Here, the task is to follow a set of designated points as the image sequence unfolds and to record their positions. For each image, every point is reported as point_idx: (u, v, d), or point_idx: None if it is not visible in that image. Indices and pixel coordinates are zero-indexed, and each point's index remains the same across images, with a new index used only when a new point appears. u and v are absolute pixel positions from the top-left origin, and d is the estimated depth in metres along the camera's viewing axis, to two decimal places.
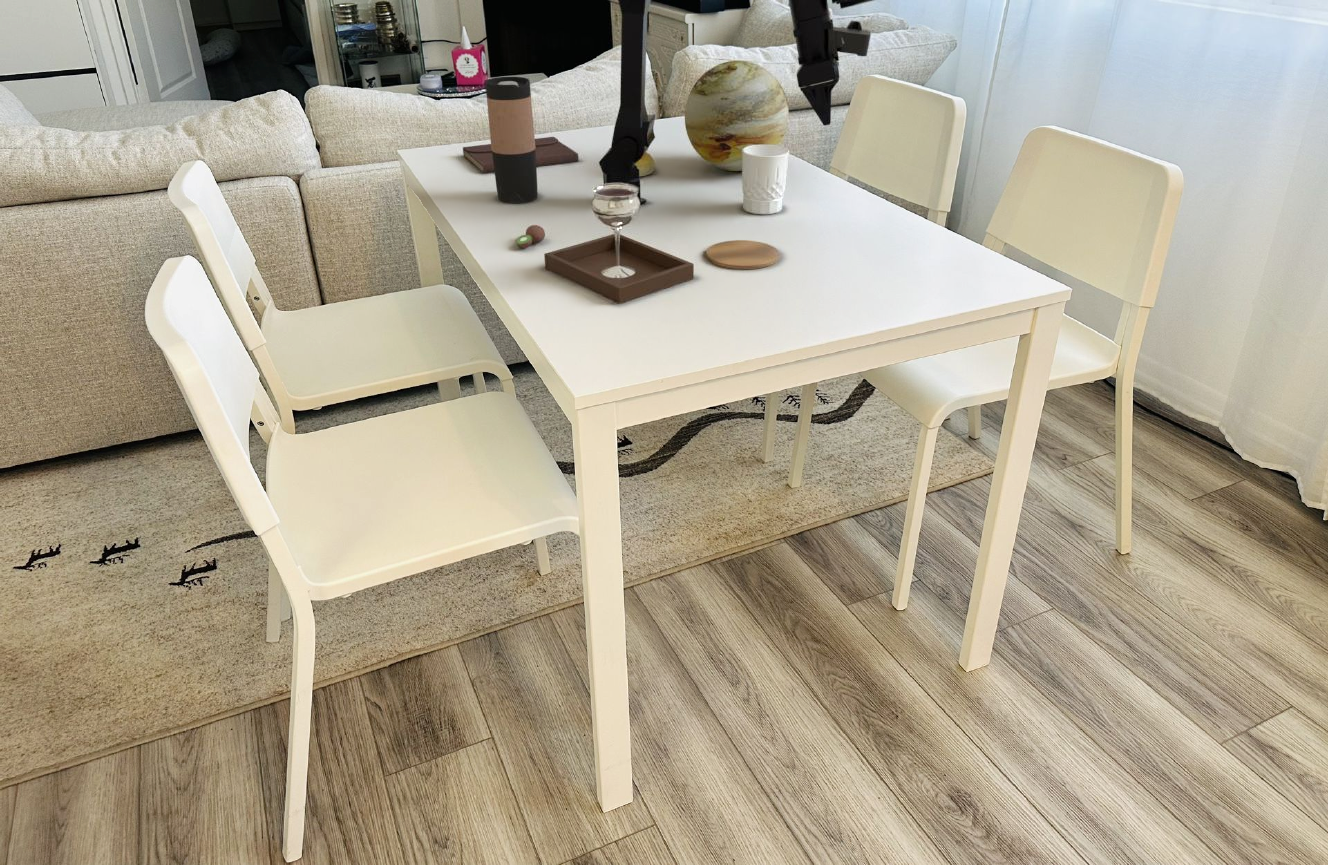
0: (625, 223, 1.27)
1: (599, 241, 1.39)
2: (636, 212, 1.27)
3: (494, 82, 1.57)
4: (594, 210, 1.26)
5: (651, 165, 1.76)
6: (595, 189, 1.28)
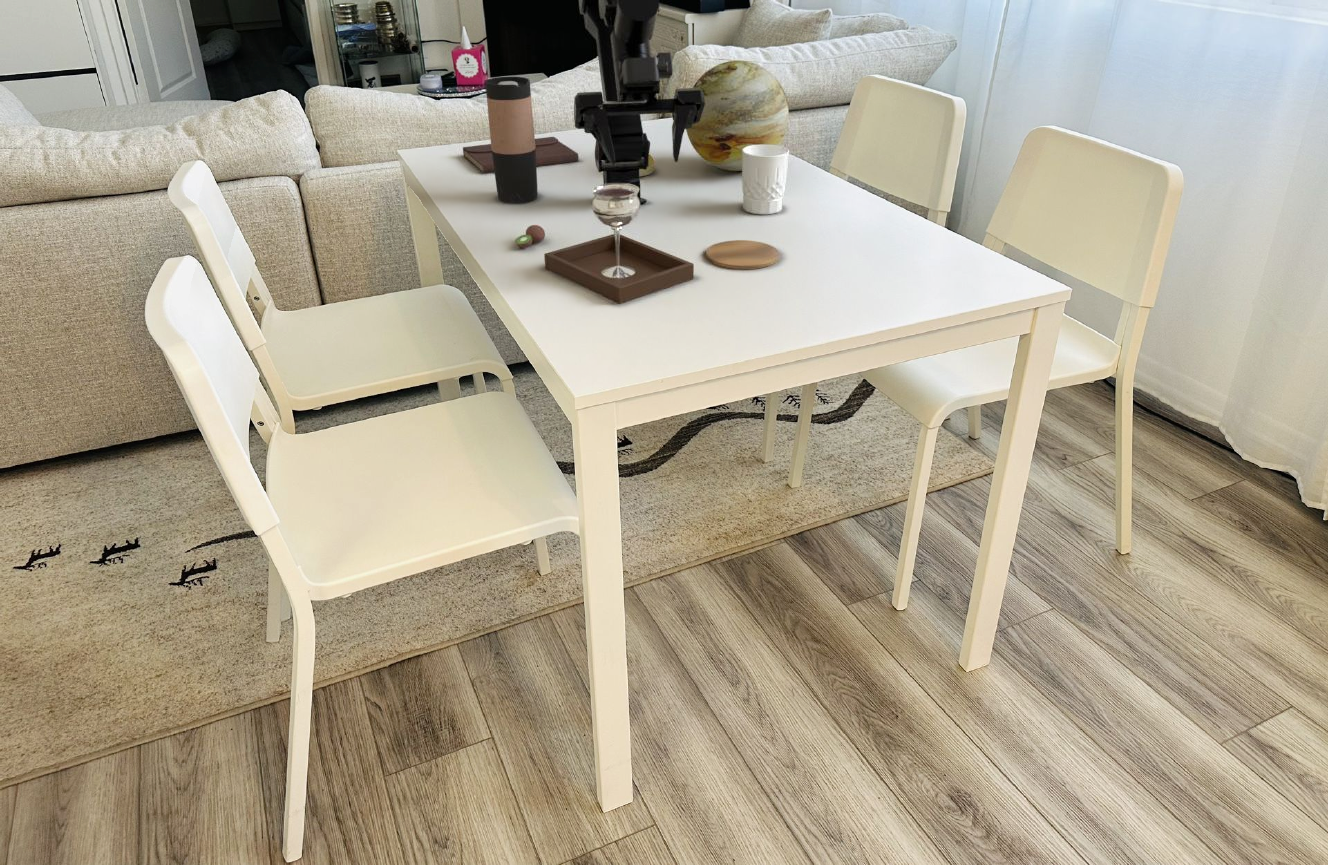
0: (625, 223, 1.27)
1: (599, 241, 1.39)
2: (636, 212, 1.27)
3: (494, 82, 1.57)
4: (594, 210, 1.26)
5: (651, 165, 1.76)
6: (595, 189, 1.28)
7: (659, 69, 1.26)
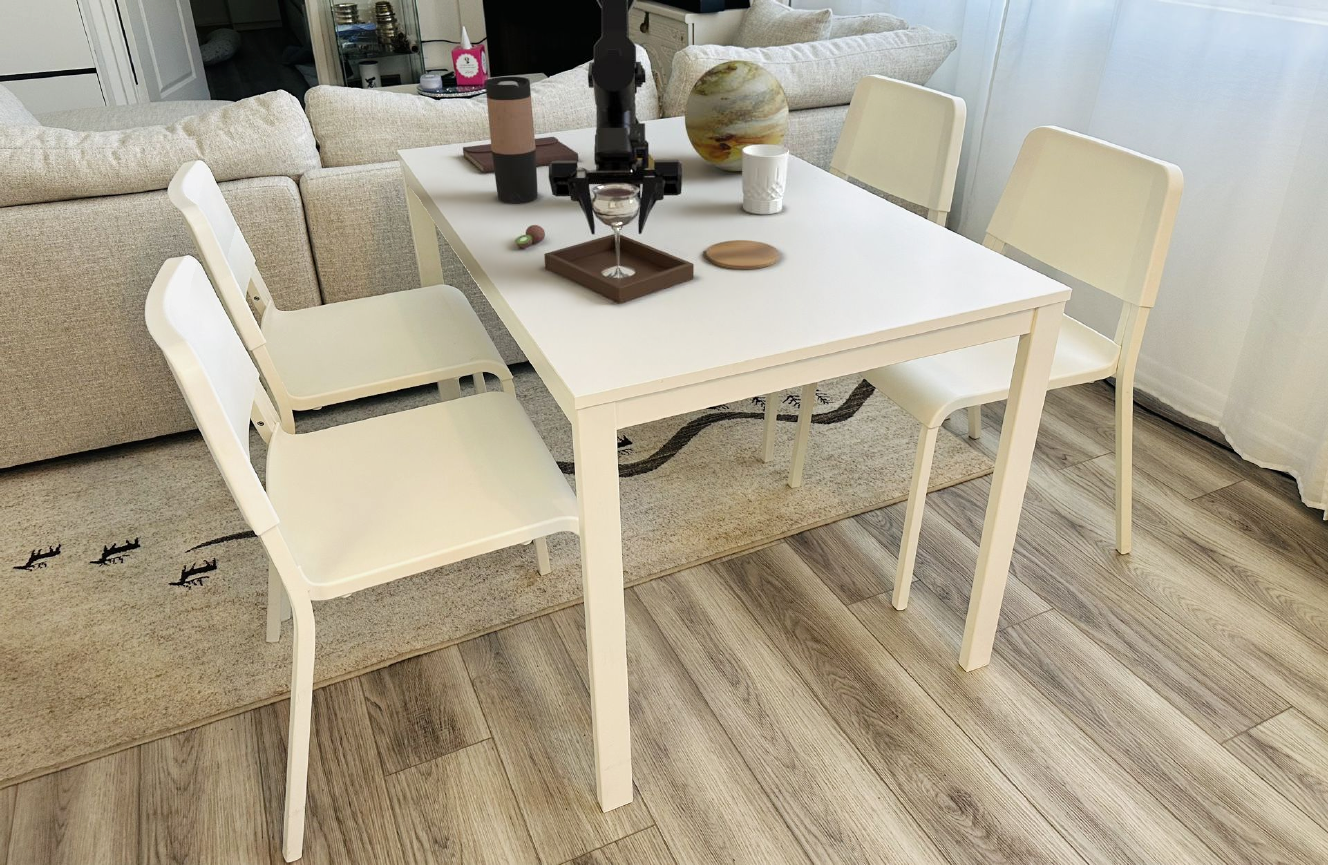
0: (625, 223, 1.27)
1: (599, 241, 1.39)
2: (636, 212, 1.27)
3: (494, 82, 1.57)
4: (594, 210, 1.26)
5: (651, 165, 1.76)
6: (595, 189, 1.28)
7: (630, 139, 1.23)
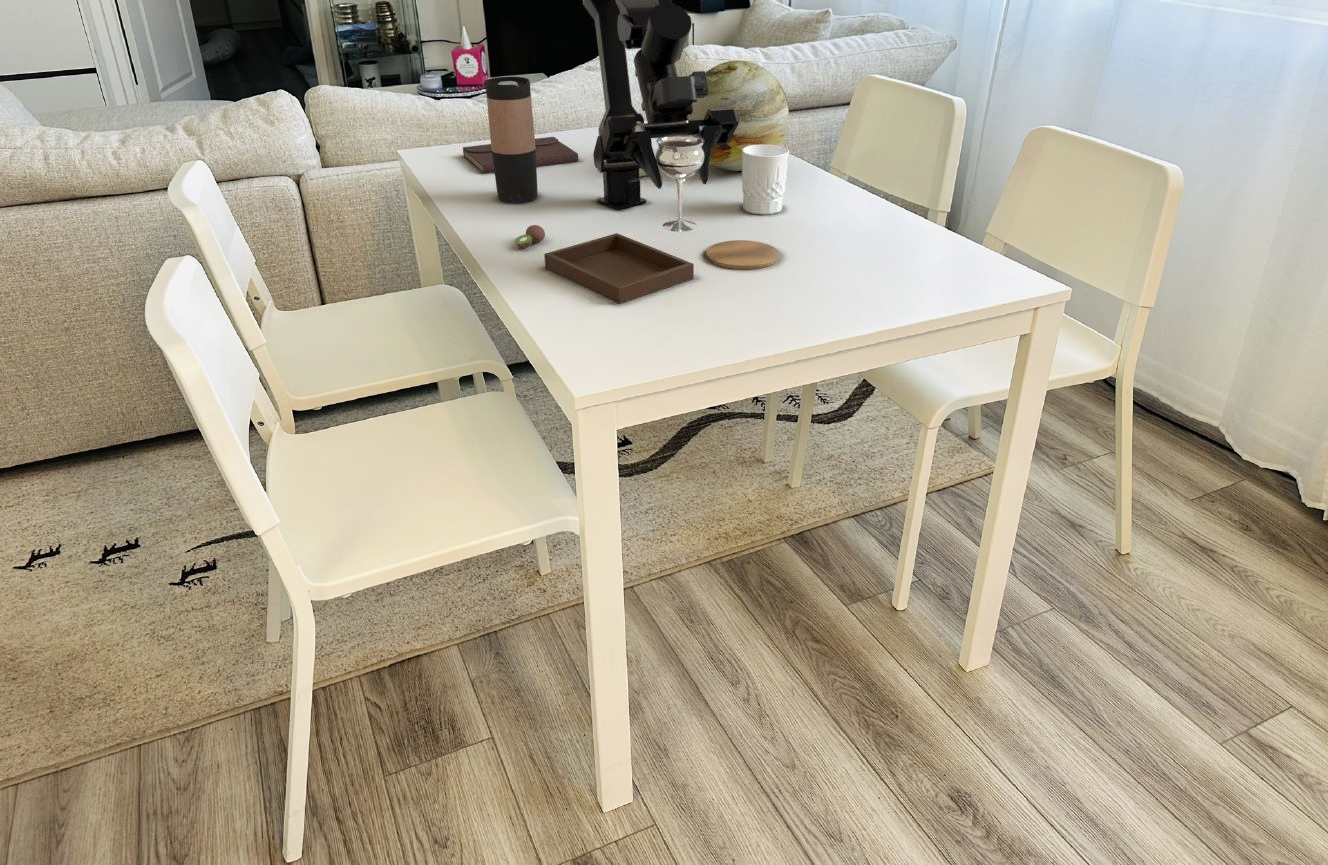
0: (693, 174, 1.26)
1: (599, 241, 1.39)
2: None
3: (494, 82, 1.57)
4: (662, 163, 1.24)
5: None
6: (657, 142, 1.25)
7: (696, 88, 1.22)
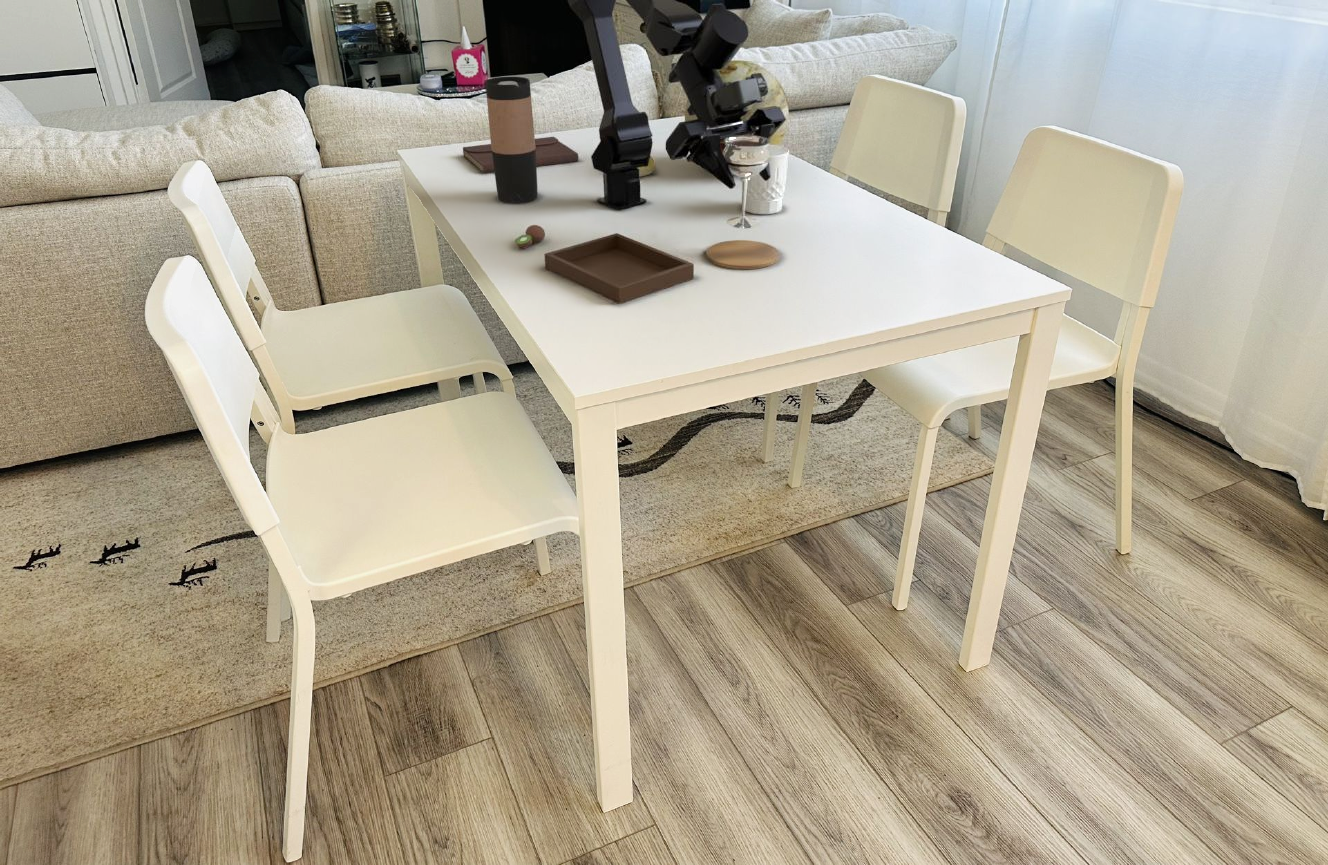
0: (760, 171, 1.31)
1: (599, 241, 1.39)
2: None
3: (494, 82, 1.57)
4: (736, 163, 1.29)
5: (651, 165, 1.76)
6: (725, 144, 1.29)
7: (761, 89, 1.28)
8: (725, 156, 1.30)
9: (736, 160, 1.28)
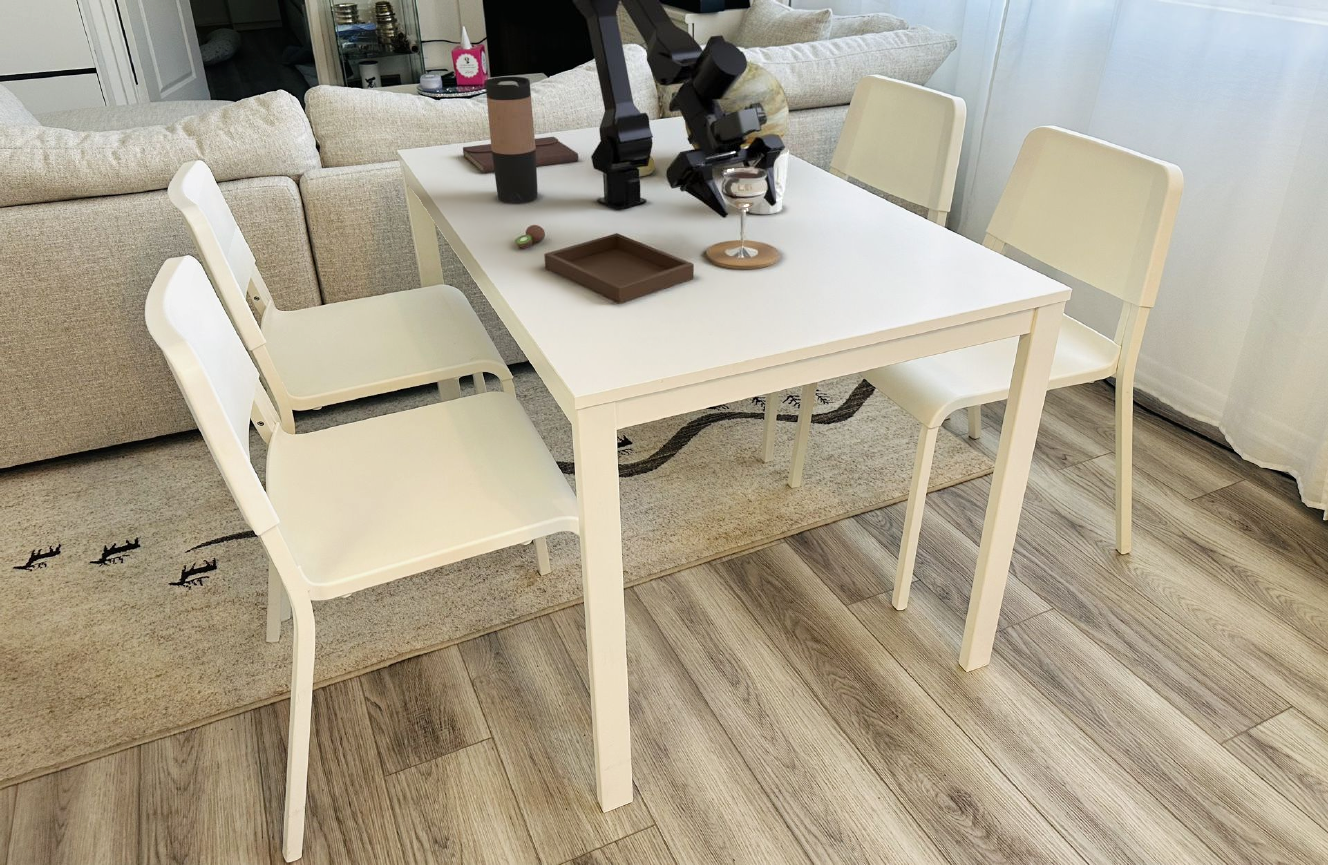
0: None
1: (599, 241, 1.39)
2: None
3: (494, 82, 1.57)
4: (735, 195, 1.31)
5: (651, 165, 1.76)
6: (724, 176, 1.32)
7: (760, 118, 1.30)
8: (724, 188, 1.32)
9: (735, 192, 1.31)
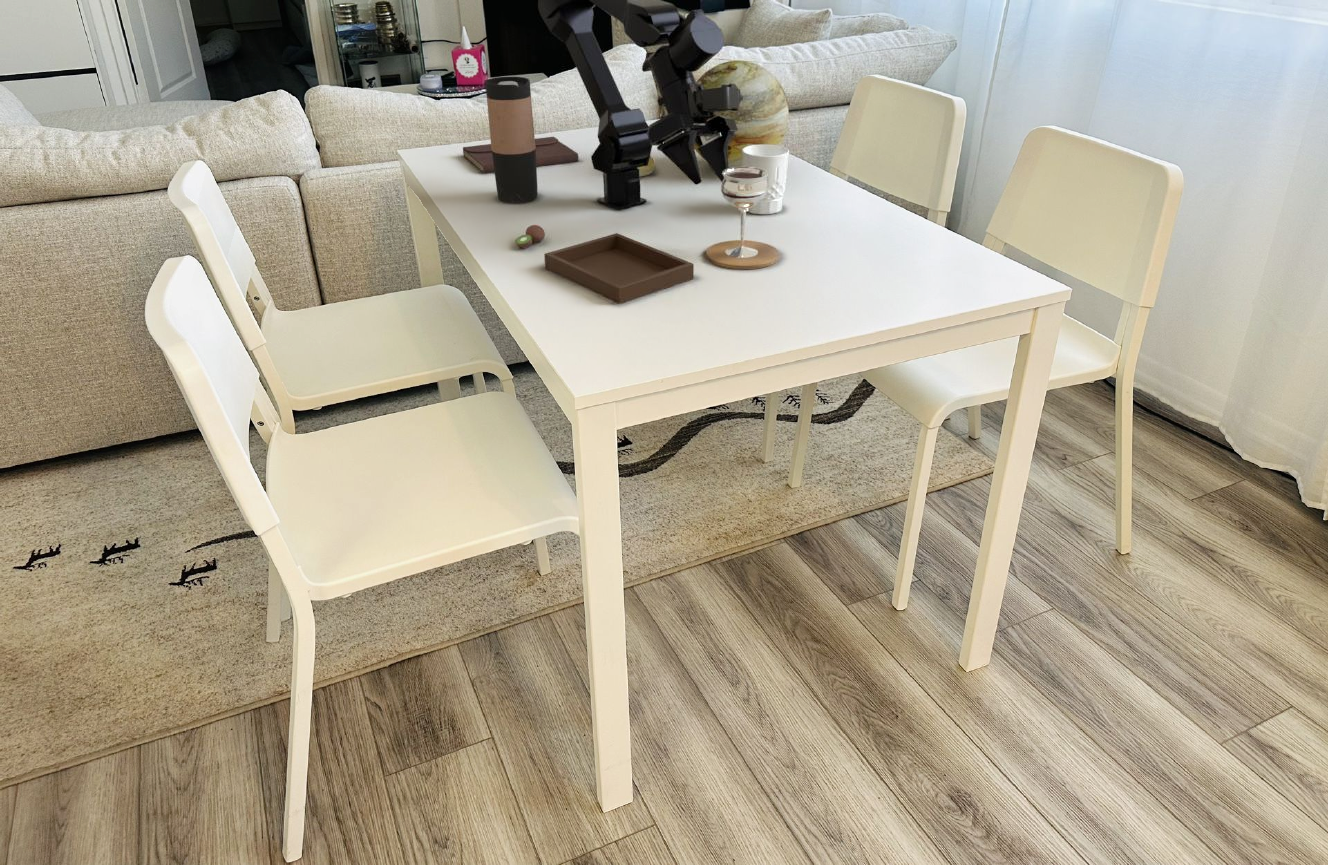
0: None
1: (599, 241, 1.39)
2: None
3: (494, 82, 1.57)
4: (735, 195, 1.31)
5: (651, 165, 1.76)
6: (724, 176, 1.32)
7: (739, 99, 1.38)
8: (724, 188, 1.32)
9: (735, 192, 1.31)
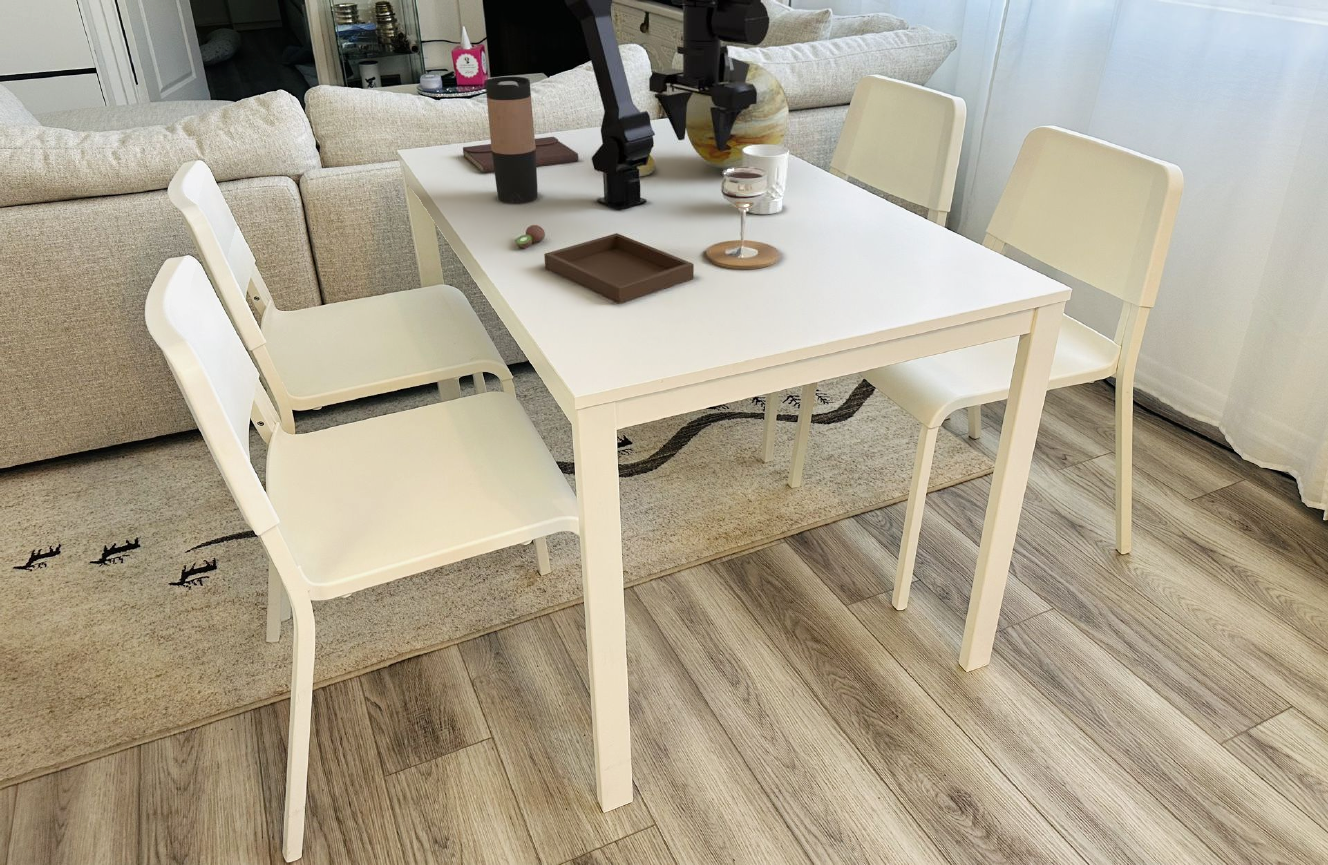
0: None
1: (599, 241, 1.39)
2: None
3: (494, 82, 1.57)
4: (735, 195, 1.31)
5: (651, 165, 1.76)
6: (724, 176, 1.32)
7: None
8: (724, 188, 1.32)
9: (735, 192, 1.31)
